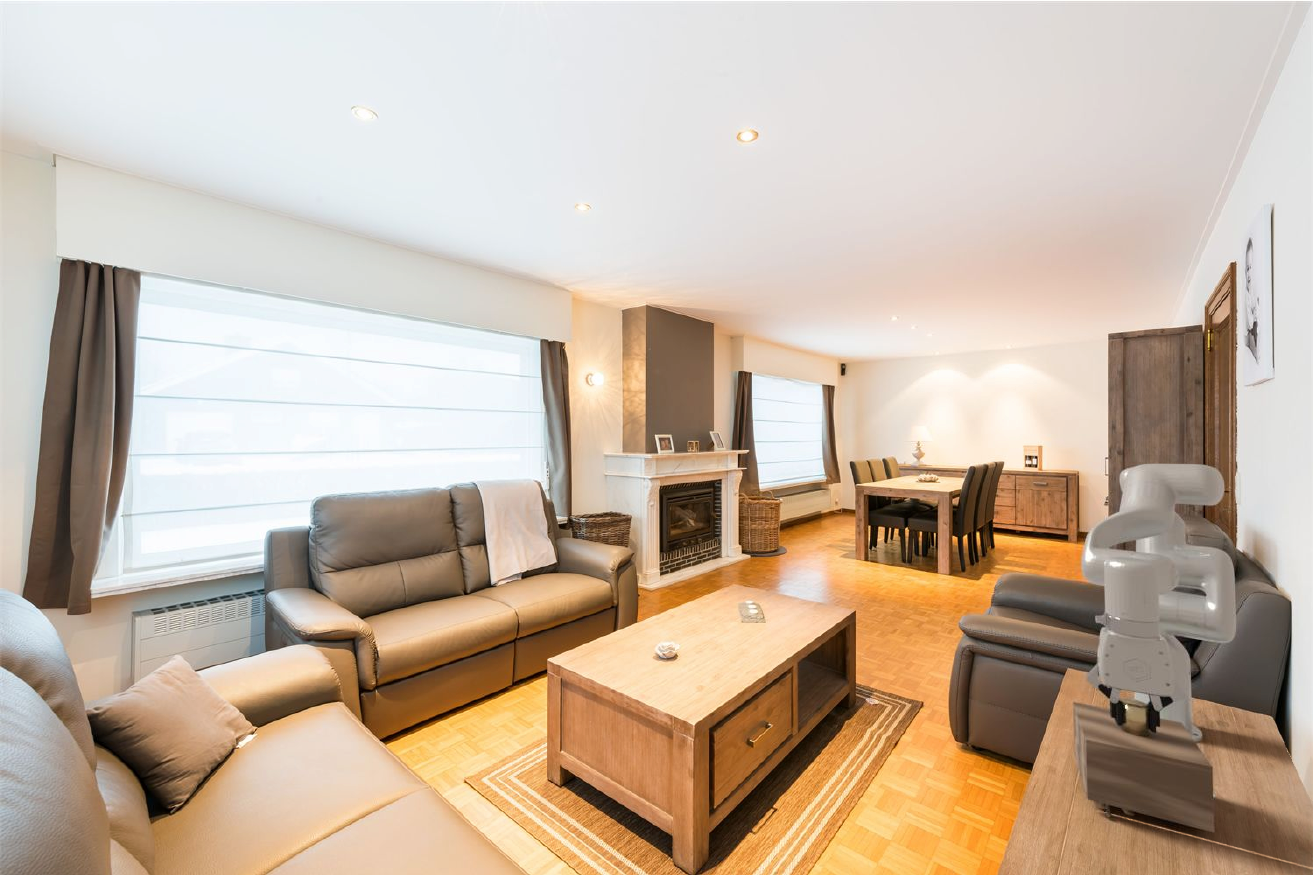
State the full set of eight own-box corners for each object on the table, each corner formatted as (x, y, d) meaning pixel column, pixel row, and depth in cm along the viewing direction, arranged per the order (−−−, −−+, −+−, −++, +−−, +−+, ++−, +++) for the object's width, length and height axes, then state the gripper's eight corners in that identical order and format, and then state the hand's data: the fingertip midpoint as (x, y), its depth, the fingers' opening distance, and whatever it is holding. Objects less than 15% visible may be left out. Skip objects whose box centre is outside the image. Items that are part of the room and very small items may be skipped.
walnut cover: (1074, 753, 109) (1072, 677, 109) (1182, 778, 101) (1180, 695, 101) (1087, 799, 95) (1085, 711, 95) (1214, 832, 87) (1211, 735, 87)
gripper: (1077, 624, 100) (1080, 723, 99) (1201, 640, 91) (1205, 748, 90) (1071, 613, 106) (1074, 706, 106) (1187, 627, 97) (1190, 728, 97)
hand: (1134, 724), depth 98 cm, fingers closed on walnut cover, 4 cm apart
